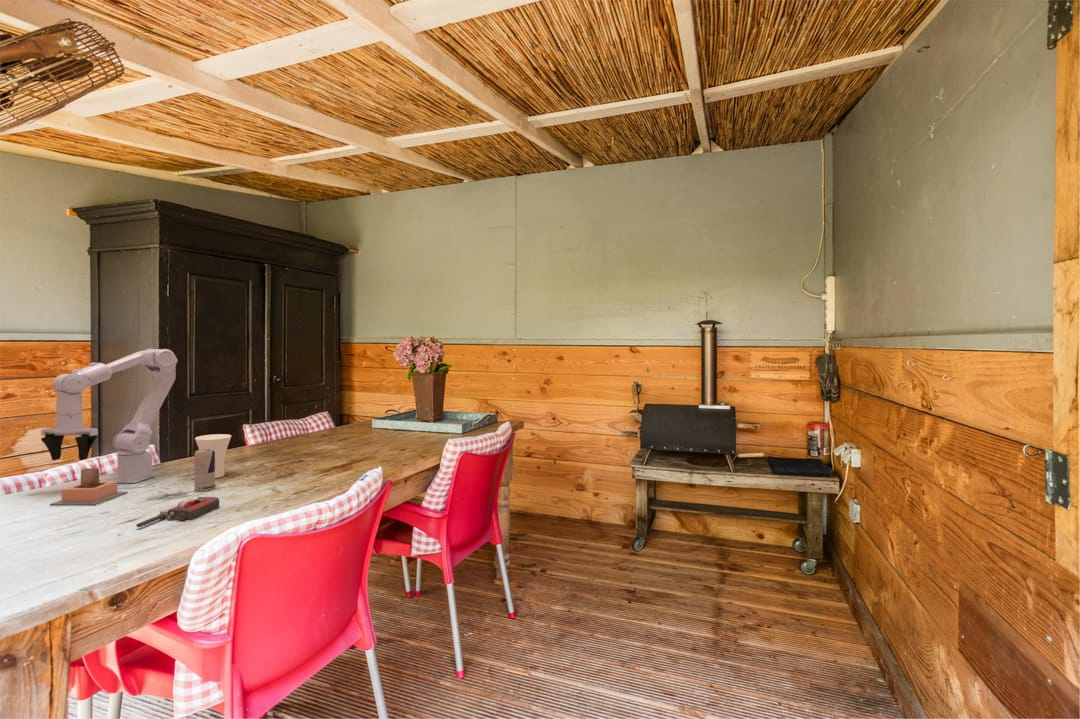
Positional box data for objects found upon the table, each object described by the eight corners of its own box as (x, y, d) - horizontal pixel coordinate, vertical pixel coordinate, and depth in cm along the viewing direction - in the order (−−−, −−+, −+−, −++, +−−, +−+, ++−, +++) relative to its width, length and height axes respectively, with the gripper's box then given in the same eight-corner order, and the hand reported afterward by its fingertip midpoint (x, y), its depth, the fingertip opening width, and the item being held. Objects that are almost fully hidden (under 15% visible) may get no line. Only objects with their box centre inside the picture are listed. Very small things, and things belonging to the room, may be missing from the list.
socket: (85, 493, 155) (85, 480, 154) (127, 493, 155) (127, 479, 155) (49, 505, 143) (49, 491, 143) (96, 505, 143) (95, 491, 143)
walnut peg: (88, 495, 151) (88, 468, 151) (103, 495, 151) (102, 468, 151) (77, 499, 147) (76, 471, 147) (91, 499, 147) (91, 471, 147)
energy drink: (219, 487, 163) (219, 449, 163) (206, 492, 158) (206, 452, 158) (203, 486, 164) (203, 448, 163) (190, 491, 158) (190, 452, 158)
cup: (205, 472, 181) (205, 434, 181) (237, 472, 182) (237, 434, 182) (188, 480, 171) (188, 439, 170) (222, 480, 172) (222, 439, 171)
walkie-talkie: (194, 506, 146) (133, 531, 126) (194, 490, 145) (132, 513, 125) (224, 507, 145) (166, 532, 125) (224, 491, 145) (166, 514, 125)
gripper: (31, 415, 150) (31, 462, 151) (84, 416, 151) (84, 462, 152) (52, 412, 157) (52, 457, 158) (103, 412, 158) (103, 457, 159)
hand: (69, 459), depth 155 cm, fingers open, 7 cm apart
